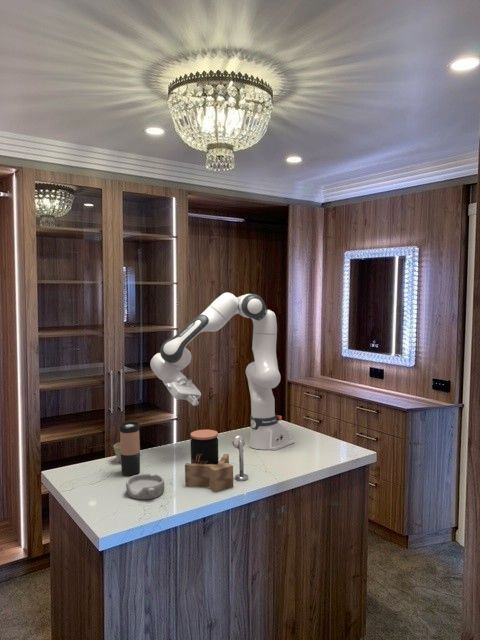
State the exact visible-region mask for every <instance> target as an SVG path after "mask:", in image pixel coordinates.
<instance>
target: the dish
mask: <svg viewBox="0 0 480 640" xmlns="http://www.w3.org/2000/svg"><path fill="white" fill-rule="evenodd" d="M125 488H126V493H127V494H128V496H129V497H130V498H133V499H135V500H136V499H137V500H152V499H154V498H157V497H159V496H161V495H162V494H164V491H165V479H164V477H162V475H160V474H157V473H156V474H151V473H141V474H140V473H139V474H138V475H134V476H131V477H129V478H127V480H126V482H125Z"/></svg>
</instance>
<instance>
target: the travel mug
mask: <svg viewBox="0 0 480 640" xmlns="http://www.w3.org/2000/svg"><path fill="white" fill-rule="evenodd" d="M119 435H120V436H119V438H120V439H119V441H120V442H119V443H120V451H121V462H120V465H121V466H120V467H121V475H122V477H129V478H130V477H132V476H134V475H139V474H140V473H141V444H140V441H141V440H140V423H139V422H137V421H128V422H122V423H120V424H119Z"/></svg>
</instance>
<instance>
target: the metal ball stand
mask: <svg viewBox="0 0 480 640" xmlns="http://www.w3.org/2000/svg"><path fill="white" fill-rule="evenodd" d="M231 444H232V447H233V448H235V449H237V450H238V451H239V452H238V453H239V454H238V456H239V457H238V458H239V460H238V461H239V464H238V465H239V473H237V474H236V475H235V476H234V480H236V481H238V482H246V481H248V480H249V475H248V474H246V473H245V471H244V469H245V468H244V467H245V466H244V462H245V461H244V446H245V444H246V439H245V437H244V436H242V435H239V434H237V435H235V436H234V437H232V441H231Z"/></svg>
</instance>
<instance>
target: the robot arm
mask: <svg viewBox="0 0 480 640" xmlns="http://www.w3.org/2000/svg"><path fill="white" fill-rule="evenodd" d="M235 315H238V316H240V317H243V318H246V319H251V320H252V324H253V329H252V330H253V332H252V343H251V344H252V346H251V350H252V353H253V358H254V361H252V362H250V363H249V364H248V365H247V366H246V368H245V375H246V378H247V383H248V384H247V385H248V389H249V394H250V395H249V396H250V408H251V410H250V412H251V414H250V419H249V420H250V422H249V423H250V433H249V434H250V436H249V439H248V444H247V445H248V447H249V448H252V449H254V450H255V449H256V450H265V451H266V450H270V451H271V450H272V451H277V450H280V449H282V448H285V447H288V446H290V445H292V444H295V440H294V439H293V438H291V437H290V432H289V429H288V428H286V426H284V425H283V424H281V423H280V422H279V421H281V420H282V418H283V416H282V415H279V414H278V415H277V414H276V413H275V410H276V409H275V408H276V407H275V400H276V399H275V396H274V393H273V390H272V389H275V388H277V387H278V386H279V384H280V382H281V378H282V377H281V373H280V371H279V366H278V365H279V364H278V358H277V357H278V356H277V337H278V336H277V334H278V324H277V316H276V314H275V312H274V311H272V310H271V309H268V308H267V306H266V304H265V301H264V299H263V298H262V297H261V296H260V295H258V294H255V293H246V294H243V295H239V296H236V295H235V294H233V293H231V292H224V293H222V294H221V295H219V296H218V297H217V298H215V299H214V300H213V302H211V304H210V305H208V306H207V308H206V309H204V311H203V312H202V313H200V314H199V315H197V316H196V317H195V318H193V319H192V320H191V321H190V322H188V324H186V326H184V327H183V328H182V329H181V330H180V331H179V332H178V333H177V334H175V335H173V337H170V338H168V339H166V340H165V341H164V342H163V343H162V345H161V346H160V350H159V351H160V352H157V353H156V354H154V355H153V357H152V358H151V360H150V363H149V365H150V368H151V370H152V372H153V374H155V375H156V377H157V378H158V379H159V380H161V381H162V383H163V384H164V386H165V387H166V389H167V391H168V392H169V393H170V395H171V396H172V397H173V398H174V399H176V400H186V401H187V402H188V403H190V404H191V405H192V406H195V407H198V406H199V403H200V402H199V401H198V400H199V399H200V398H201V396H202V393H201V391H200V389H198V387H197V386H196V385H195V384H194V383H193V380H192V379H191V378H189V377H188V376H186V375H185V374H184V373H182V372H181V371H183V370H184V369H185V368H187V367H188V366H189V365H190V364H191V363H192V358H193V357H192V356H193V355H192V353H191V351H190V350H189V349H188V348H187V347H186V346H187V345H188V344H189V343H190V342H192V341H193V339H195V338H196V337H197V336H198V335H199V334H201V333H203V332H204V333H205V332H209V333H210V332H211V333H212V332H213V333H214V332H215V333H216V332H218V331H219V330H221V329H222V328H224V326H225V325H226V324H227V323H228V322H229V321H230V319H232V318H233V317H234V316H235ZM278 420H279V421H278Z"/></svg>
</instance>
